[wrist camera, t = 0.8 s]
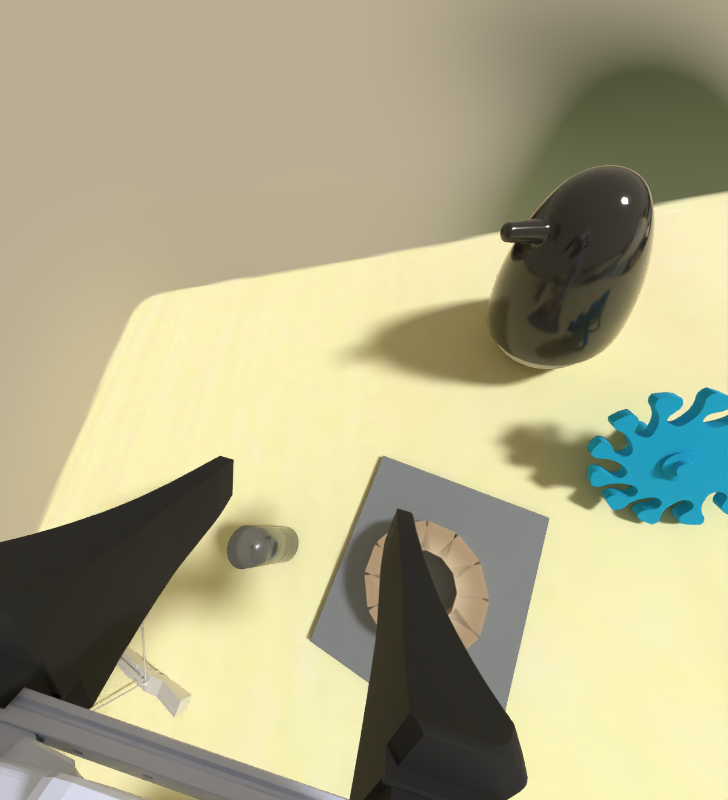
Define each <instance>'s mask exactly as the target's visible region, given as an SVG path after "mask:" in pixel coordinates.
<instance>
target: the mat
mask: <svg viewBox="0 0 728 800" xmlns="http://www.w3.org/2000/svg"><path fill="white" fill-rule="evenodd" d="M397 508H398V509H401V510H405V511H408V512H412V514H413V516H414V521H415V522H418V521H425V520H426V521H428V522H429V521H430V522H433V523H435V524H437V525H440V526H442V527H444V528H447V529H449V530H451V531H453V532H456V533H455V537H454V538H456V537H457V536H458V535H459V536H460V537H461V538H462V539H463V541H464V542H465V543H466V544H467V546H468V547H469V548H470V549H471V551H472V552H473V553H474V554H475V556H476V557H477V558H478V559H479V562H480V563H481V566H482V570H483V575H484V579H485V583H486V587H487V591H488V596H489V598H487V599H488V601H489V605H488V609H487V613H486V616H485V620H484V624H483V628H482V632H481V635H479V634H477V635H478V640H477V641H476V642H474V643H473V644H472V645H471V646H470V647H469V648H467V651H468V653H469V655H470V657H471V658H472V660H473V662H474V664H475V665H476V667H477V669H478V670H479V672H480V674H481V675H482V677H483V678H484V680H485V682H486V683H487V685H488V686H489V688H490V689H491V691H492V693H493V694H494V696H495V697H496V699H497V700H498V701H499V703H500V704H501V706H502V707H503V709H504V710H505V709H506V705H507V701H508V696H509V692H510V688H511V683H512V679H513V674H514V670H515V666H516V661H517V657H518V653H519V648H520V644H521V639H522V635H523V631H524V626H525V622H526V618H527V613H528V609H529V604H530V600H531V596H532V591H533V587H534V583H535V578H536V574H537V569H538V565H539V561H540V556H541V552H542V548H543V543H544V539H545V535H546V530H547V526H548V521H549V518H548V517H545V516H543V515H540V514H537V513H535V512H532V511H529V510H527V509H524V508H521V507H519V506H516V505H513V504H511V503H508V502H505V501H503V500H500V499H497V498H495V497H492V496H489V495H487V494H484V493H481V492H479V491H476V490H473V489H471V488H468V487H465V486H463V485H460V484H457V483H455V482H452V481H449V480H447V479H444V478H441V477H439V476H436V475H433V474H431V473H428V472H425V471H423V470H420V469H417V468H415V467H412V466H409V465H407V464H404V463H401V462H399V461H396V460H393V459H391V458H388V457H385V456H383V458H382V461H381V463H380V466H379V468H378V471H377V473H376V476H375V478H374V481H373V483H372V486H371V488H370V491H369V493H368V496H367V498H366V501H365V503H364V506H363V508H362V511H361V514H360V516H359V519H358V521H357V524H356V526H355V529H354V531H353V534H352V536H351V539H350V541H349V544H348V546H347V549H346V551H345V554H344V556H343V559H342V561H341V564H340V566H339V569H338V571H337V574H336V577H335V579H334V582H333V584H332V587H331V589H330V592H329V594H328V597H327V599H326V602H325V604H324V607H323V609H322V612H321V614H320V617H319V619H318V622H317V624H316V627H315V629H314V632H313V634H312V637H311V640H310V641H311V642H312V643H314V644H315V645H317V646H318V647H319V648H321V649H322V650H324V651H325V652H326V653H328V654H329V655H331V656H332V657H333V658H335V659H336V660H338V661H339V662H340V663H342V664H343V665H345V666H346V667H347V668H349V669H350V670H352V671H353V672H354V673H356V674H357V675H359V676H360V677H361V678H363V679H364V680H366V681H367V682H368V683H369V680H370V674H371V667H372V660H373V653H374V646H375V639H376V629H377V624H376V623H375V621H374V619H373V617H372V616H371V614H370V612H369V610H370V609H372V608H373V607H374V606H370V607H367V596H366V586H365V575H366V574H368V573H367V572H365V570H366V567H367V565H368V562H369V559H370V557H371V554H372V551H373V549H374V546H375V545H376V544H378V542H377V541H378V540H380V539H381V538H382V537H383V536H384V535H386V534H387V533H388V531H389V529H390V526H391V523H392V521H393V518H394V516H395V513H396V510H397ZM423 553H424V556H425V559H426V562H427V565H428V568H429V571H430V574H431V576H432V579H433V581H434V584H435V586H436V589H437V591H438V594H439V596H440V598H441V601H442V603H443V605H444V607H445V609H446V610H447V609H448V608H449V607H450V606H451V605H452V604H453V601H454V598H455V594H456V591H457V590H456V585H455V580H454V575H453V572H452V571H451V570H450V568H449V567H448V566H447V564H446V563H445V562H444V560H443V559H442V558H441V557H439V556H437V555H435V554H433V553H431V552H429V551H426V550H423Z"/></svg>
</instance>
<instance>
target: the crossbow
mask: <svg viewBox="0 0 728 800" xmlns="http://www.w3.org/2000/svg"><path fill="white" fill-rule="evenodd" d="M142 640H143V659H142V658H141V657H140V656H139V655H138V654H137V653H135V652H134V651H133V650H132V649H130V648H129V647H128V646H127V648H126V650H125V651H124V653H123V655H122V656H121V658H120V660H119V661H118V663H117V665H118V666H119V667H120V668H121V669H122V670H123V671H124V673H125V674H126V675H127V676H128V677H129V678H130V679H132V680H133V681H134V682H135V683H137V684H138V685H137V686H135V687H134V688H136V687H138V686H140V687H141V688H142V689H143V690H144V691H146V692H148V693H150V694H152V695H154V696H157V698H158V699H159V700H160V701H161V702H162V703H163V705H164V706H165V707H166V708H167V709H168V711H169V712H170V713H171V714H172V715H173V716H174V717H176V716H177V715H179V714H181V713H183V712H184V711H186V709H187V706H188V704H189V701H190V699H191V696H192V695H191V694H190V693H189V692H187V691H186V690H185V689H183V688H182V687H181V686H179V685H178V684H177V683H175V682H174V681H173V680H171V679H170V678H169V677H167V676H165V675H162V674H160V673H161V671H159V670H155V669H154V668H153V667H151V666H150V665H149V664H148V663H147V662H146V661H145V651H144V631H143V622H142ZM134 688H132V689H134ZM132 689H130V690H128V691H126V692H125V693H127V692H129V691H131V690H132ZM125 693H123V694H121V695H119V696H118V697H120V696H122V695H124V694H125ZM118 697H116V698H118ZM116 698H114V699H112V700H110V701H109V702H111V701H113V700H115V699H116ZM109 702H107V703H105V704H103V705H102V706H104V705H106V704H108V703H109ZM102 706H100V707H102ZM100 707H98V708H96V709H94V710H93V711H95V710H97V709H99V708H100Z"/></svg>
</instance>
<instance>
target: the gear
mask: <svg viewBox="0 0 728 800" xmlns="http://www.w3.org/2000/svg"><path fill="white" fill-rule="evenodd" d="M648 403H649V405H650V407H651V410H652V417H651V420H650V422H649V424H648V425H647V424H645V423H644V422H642V421H639V420H638V418H637V417H636V416H635V415H634V414H633V413H632V412H631V411H629V410H628V409H625V410H621V411H618V412H616V413H614V414H612V415H610V416H609V417H608V421H609V422H610V423H611V425H612V426H613V427H614V428H615V429H617V430H618V431H620V432H622V433H624V435H625V437H626V441H627V446H626V447H625V448H624V449H623V450H620V451H614V450H613V447H612V445H611V444H610V443H609V442H608V441H607V440H606V438H604V437H602V436H596V437H595V438H593V439H592V440H591V441H590V443H589V444H588V445H587V447H586V448H587V449H588V451H589V452H590V454H591V455H592V456H593V457H595V458H599V459H609V460H613V461H615V462H618V463H619V464H621V465H622V466H621V468H620V469H619V470H617V471H614V472H611V471H607V470H606V469H604V468H603V467H602V466H600V465H596V464H593V465H589V466H588V468H587V479H588V480H589V482H590V484H591V485H592V486H596V487H600V486H604V485H608V484H614V483H621V484H627V485H631V487H630V488H628V489H625V490H620V489H615V488H607V489H605V490H603V491H602V495H603V497H604V498H605V500H606V501H607V503H608V504H609V506H610V507H611V508H612V509H613V510H620V509H623V508H624V507H625V506H627V505H628V504H629V503H631V502H633V501H636V500H639V499H644V498H653V497H654V498H653V499H652V500H650V501H646V502H639V503H636V504H635V505H633V507H632V510H633V512H634V513H635V515H636V516H637V517H638V518H639V519H640V520H642V521H644V522H647V523H650V524H655V523H657V522H658V521H659V520H660V518H661V515H662V513H663V512H664V511H665V509H667V508H668V507H669V506H671V505H673V504H674V503H676V502H678V501H681V500H685V501H684V502H682V503H680V504H678V505H676V506H675V507H674V508H673V509H672V514H673V515H674V516H675V517H676V519H677V520H678V521H679V522H680V523H683V524H690V525H700V524H702V523H703V522H704V516H703V515H702V512H701V507H702V504H703V502H704V500H705V499H706V497H707V496H708V495H709V494H711V493H713V492H717V493H716V494H715V495H714V497H713V502H714V503H715V504H716V505H717V506H718V507H719V508H720V509H721V510H722V511H723V512H725V513H726V514H728V415H727V416H725V417H723V418H720V419H716V420H712V421H707V422H703V420H704V418H705V417H706V416H708V415H709V414H712V413H716V412H721V411H725V410H727V409H728V396H727V395H725V394H723V393H721V392H719V391H717V390H714V389H710V388H707V387H706V388H704V389H702V390H700V391H699V392H698V393H697V395H696V398H695V401H694V403H693V405H692V406H691V408H690V409H689V410H688V411H687V412H686V413H684V414H683V415H681V416H680V417H678V418H677V419H675V420H673V421H667V419H668V417H669V416H670V415H672V414H673V413H675V412H676V411H678V410H679V409H680V408H681V407H682V405H683V400H682V398H681V397H679V396H677V395H675V394H674V393H668V392H662V393H654V394H651V395H650V396H649V398H648Z"/></svg>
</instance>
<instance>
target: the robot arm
mask: <svg viewBox="0 0 728 800" xmlns="http://www.w3.org/2000/svg"><path fill="white" fill-rule="evenodd" d="M233 462H234V460H233V459H229V458H226V457H222V456H219V457H217V458H215V459H213V460H211V461H209V462H208V463H206V464H204V465H202V466H200V467H198V468H197V469H195V470H193V471H191V472H189V473H187V474H186V475H184V476H182V477H180V478H178V479H176V480H174V481H172V482H170V483H168V484H166V485H164V486H162V487H160V488H158V489H156V490H154V491H152V492H150V493H148V494H146V495H143V496H141V497H139V498H137V499H134V500H132V501H130V502H127V503H125V504H122V505H120V506H117V507H115V508H112V509H110V510H107V511H104V512H102V513H99V514H96V515H93V516H90V517H87V518H84V519H81V520H78V521H75V522H73V523H69V524H66V525H63V526H60V527H56V528H53V529H49V530H46V531H42V532H39V533H35V534H32V535H28V536H24V537H20V538H16V539H12V540H8V541H4V542H0V800H148V799H145V798H142V797H140V796H137V795H134V794H131V793H128V792H125V791H122V790H119V789H116V788H113V787H110V786H107V785H103V784H100V783H97V782H93V781H89V780H86V779H84V778H83V777H82V776H81V775H80V774H79V772H78V771H77V769H76V768H75V761H74V760H73V759H71V758H69V757H67V756H65V755H63V754H61V753H60V752H58V751H56V750H54V749H52V748H50V747H53V748H56V749H59V750H61V751H64V752H67V753H70V754H73V755H76V756H78V757H81V758H84V759H87V760H90V761H92V762H95V763H98V764H101V765H104V766H107V767H109V768H112V769H115V770H118V771H121V772H124V773H126V774H129V775H132V776H135V777H138V778H141V779H143V780H146V781H149V782H152V783H155V784H158V785H160V786H163V787H166V788H169V789H172V790H174V791H177V792H180V793H183V794H186V795H189V796H191V797H194V798H197V799H200V800H349V799H346V798H343V797H340V796H337V795H335V794H332V793H329V792H326V791H323V790H320V789H317V788H314V787H311V786H309V785H306V784H303V783H300V782H297V781H294V780H291V779H288V778H285V777H282V776H280V775H277V774H274V773H271V772H268V771H265V770H262V769H259V768H256V767H253V766H251V765H248V764H245V763H242V762H239V761H236V760H233V759H230V758H227V757H225V756H222V755H219V754H216V753H213V752H210V751H207V750H204V749H201V748H198V747H196V746H193V745H190V744H187V743H184V742H181V741H178V740H175V739H172V738H169V737H167V736H164V735H161V734H158V733H155V732H152V731H149V730H146V729H143V728H141V727H138V726H135V725H132V724H129V723H126V722H123V721H120V720H117V719H114V718H112V717H109V716H106V715H103V714H100V713H97V712H94V711H91V710H88V709H90V708H91V707H93V705H94V703H95V701H96V700H97V698H98V696H99V694H100V692H101V691H102V689H103V687H104V686H105V684H106V682H107V680H108V679H109V677H110V675H111V673H112V672H113V670H114V668H115V666H116V665H117V663H118V661H119V660H120V658H121V656H122V655H123V653H124V651H125V650H126V648H127V646H128V645H129V643H130V641H131V640H132V638H133V636H134V635H135V633H136V632H137V630H138V628H139V627H140V625H141V623H142V622H143V620H144V619H145V617H146V616H147V614H148V612H149V611H150V609H151V608H152V606H153V605H154V603H155V601H156V600H157V598H158V597H159V595H160V594H161V592H162V591H163V589H164V588H165V586H166V585H167V583H168V582H169V580H170V579H171V577H172V576H173V574H174V573H175V572H176V570H177V569H178V568H179V566H180V565H181V564H182V562H183V561H184V560H185V559H186V557H187V556H188V555H189V554H190V552H191V551H192V550H193V549H194V547H195V546H196V545H197V544H198V542H199V541H200V540H201V539H202V537H203V536H204V535H205V534H206V532H207V531H208V530H209V529H210V527H211V526H212V525H213V524H214V522H215V521H216V520H217V518H218V517H219V516H220V514H221V513H222V511H223V509H224V508H225V506H226V505H227V503H228V501H229V500H230V498H231V496H232V491H233ZM46 745H47V746H46ZM48 746H50V747H48ZM527 779H528V777H527V772H526V767H525V762H524V758H523V754H522V750H521V746H520V743H519V739H518V736H517V732H516V729H515V726H514V723H513V722H512V720H511V719H510V718H509V716H508V715H507V713H506V712H505V710H504V709H503V707H502V706H501V704H500V703H499V701H498V700H497V699H496V697H495V696H494V694H493V693H492V691H491V689H490V688H489V686H488V685H487V683H486V682H485V680H484V678H483V677H482V675H481V674H480V672H479V670H478V669H477V667H476V665H475V664H474V662H473V660H472V658H471V657H470V655H469V653H468V651H467V649H466V648H465V646H464V644H463V642H462V641H461V639H460V637H459V635H458V633H457V632H456V630H455V628H454V626H453V624H452V622H451V620H450V618H449V616H448V613H447V611H446V609H445V607H444V605H443V603H442V601H441V598H440V596H439V594H438V591H437V589H436V586H435V584H434V581H433V579H432V576H431V574H430V571H429V568H428V565H427V562H426V559H425V556H424V553H423V550H422V547H421V544H420V540H419V537H418V533H417V530H416V525H415V521H414V516H413V514H412V512H408V511H405V510H401V509H398V508H397V510H396V513H395V516H394V518H393V521H392V523H391V526H390V529H389V531H388V534H387V536H386V539H385V543H384V548H383V554H382V561H381V568H380V583H379V599H378V615H377V629H376V639H375V646H374V653H373V660H372V667H371V674H370V680H369V687H368V693H367V700H366V706H365V712H364V718H363V724H362V730H361V737H360V743H359V748H358V754H357V760H356V766H355V772H354V777H353V783H352V789H351V794H350V800H508V799H509V798H511V797H512V796H514V795H516V794H517V793H519V792H520V791H521V790H522V789H523V788H524V787H525V786H526V784H527Z"/></svg>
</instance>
